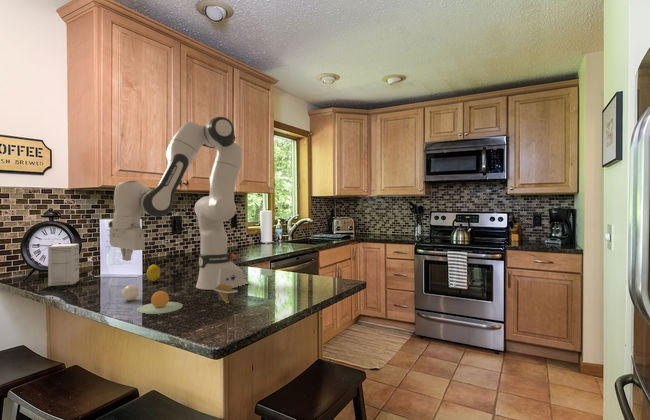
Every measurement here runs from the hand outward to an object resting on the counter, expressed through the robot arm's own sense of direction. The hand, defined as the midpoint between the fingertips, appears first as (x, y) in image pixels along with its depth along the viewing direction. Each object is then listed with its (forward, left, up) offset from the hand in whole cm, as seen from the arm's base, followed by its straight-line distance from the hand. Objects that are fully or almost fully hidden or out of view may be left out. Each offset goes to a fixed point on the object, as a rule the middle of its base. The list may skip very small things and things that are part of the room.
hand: (126, 260), depth 133 cm
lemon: (-17, -21, -14) cm, 30 cm away
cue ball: (0, +7, -11) cm, 13 cm away
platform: (-24, +31, -14) cm, 41 cm away
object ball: (-4, +23, -11) cm, 26 cm away
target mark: (-4, +24, -14) cm, 28 cm away
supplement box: (+13, -42, -14) cm, 46 cm away
